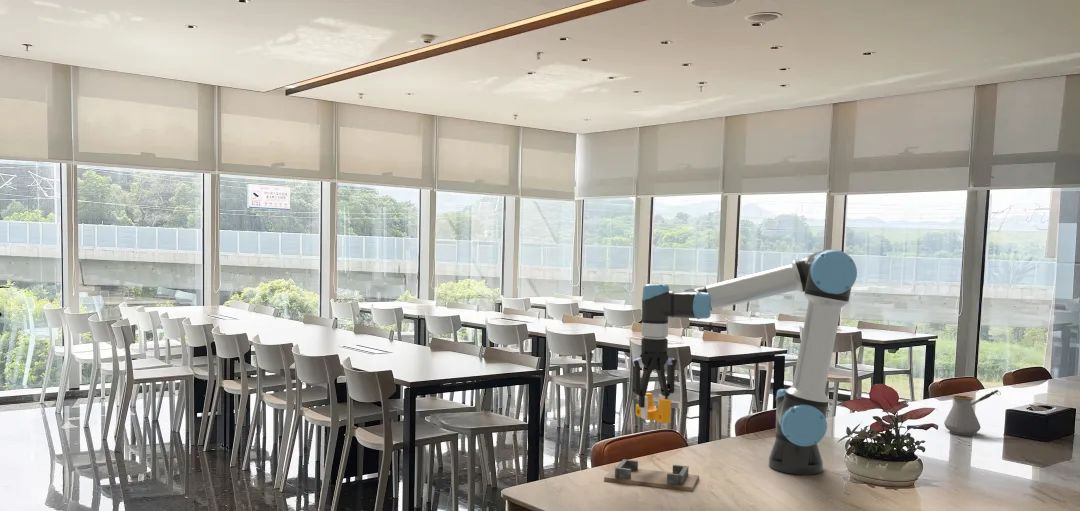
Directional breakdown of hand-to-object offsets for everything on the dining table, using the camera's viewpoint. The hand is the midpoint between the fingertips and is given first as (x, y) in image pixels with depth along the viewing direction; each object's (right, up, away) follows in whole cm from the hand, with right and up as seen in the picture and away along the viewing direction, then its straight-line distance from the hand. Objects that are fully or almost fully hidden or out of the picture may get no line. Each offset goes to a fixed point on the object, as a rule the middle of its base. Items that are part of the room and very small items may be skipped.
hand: (652, 418), depth 228 cm
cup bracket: (-2, -15, -10) cm, 18 cm away
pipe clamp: (0, -1, 0) cm, 1 cm away
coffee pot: (+123, -17, +55) cm, 135 cm away
